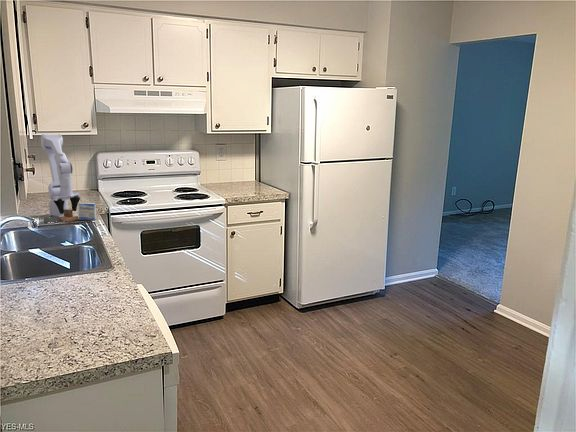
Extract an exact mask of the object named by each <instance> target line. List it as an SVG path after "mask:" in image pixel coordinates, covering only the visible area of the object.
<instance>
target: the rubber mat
mask: <svg viewBox="0 0 576 432" xmlns="http://www.w3.org/2000/svg"><path fill="white" fill-rule="evenodd" d="M61 221H62V220H59V222H61ZM72 221H73V222H77V221H80V220H79V218H78V219H77V221H76V220H72ZM67 222H68V223H71V222H70V221H65V222H64V223H67Z"/></svg>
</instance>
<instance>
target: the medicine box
mask: <svg viewBox="0 0 576 432" xmlns="http://www.w3.org/2000/svg"><path fill="white" fill-rule="evenodd" d="M78 219H79V220H78V221H95V220H96V219H97V203H96V202H78Z"/></svg>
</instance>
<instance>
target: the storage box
mask: <svg viewBox="0 0 576 432" xmlns="http://www.w3.org/2000/svg"><path fill="white" fill-rule="evenodd" d="M42 217H43V223H44V222H50V223H51V222H55V223H57V222H56V221H59V216H56V215H49V214H48V215H45V216H44V215H43V216H42ZM59 222H60V221H59ZM50 223H49V224H50ZM51 224H52V223H51Z"/></svg>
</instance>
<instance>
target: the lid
mask: <svg viewBox="0 0 576 432" xmlns="http://www.w3.org/2000/svg"><path fill="white" fill-rule="evenodd" d="M73 212H74V211H72V209H69V208H68V209H66V210H64V216H61V217H59V220H62V221H72V220H77V219H79V215H74V214H73ZM77 221H78V220H77Z"/></svg>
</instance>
